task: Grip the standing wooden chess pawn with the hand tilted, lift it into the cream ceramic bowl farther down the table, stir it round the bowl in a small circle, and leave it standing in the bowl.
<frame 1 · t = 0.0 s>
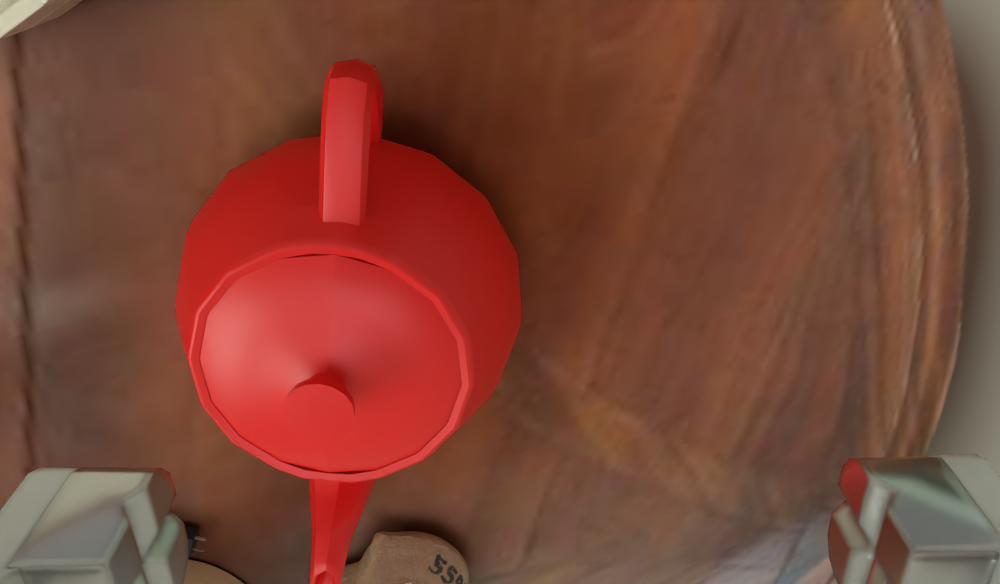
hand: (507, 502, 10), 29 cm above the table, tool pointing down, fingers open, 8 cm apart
teapot: (364, 279, 42), on the table
oil lamp: (393, 556, 51), on the table
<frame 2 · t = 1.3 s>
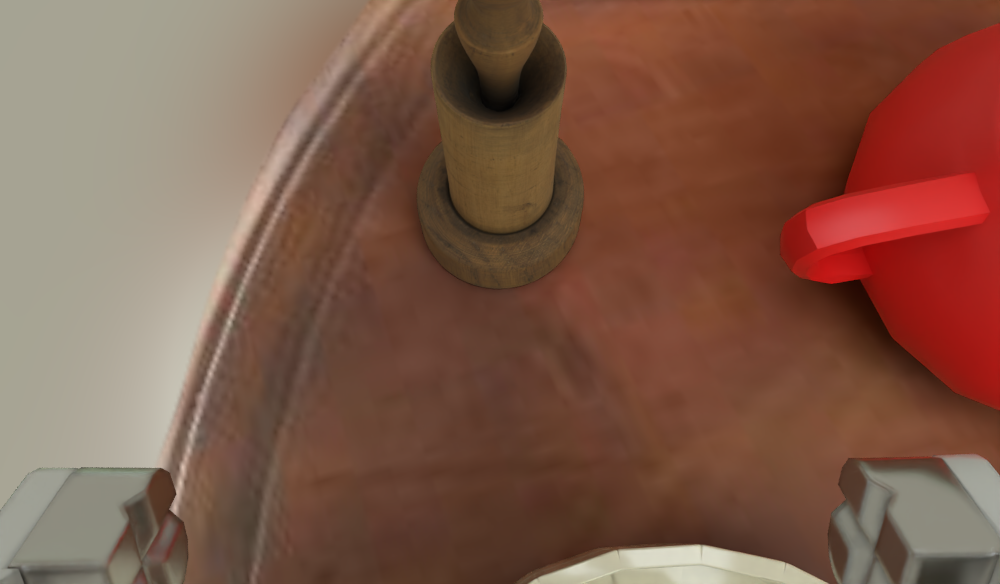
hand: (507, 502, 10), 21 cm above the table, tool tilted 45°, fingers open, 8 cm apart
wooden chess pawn: (500, 215, 34), on the table
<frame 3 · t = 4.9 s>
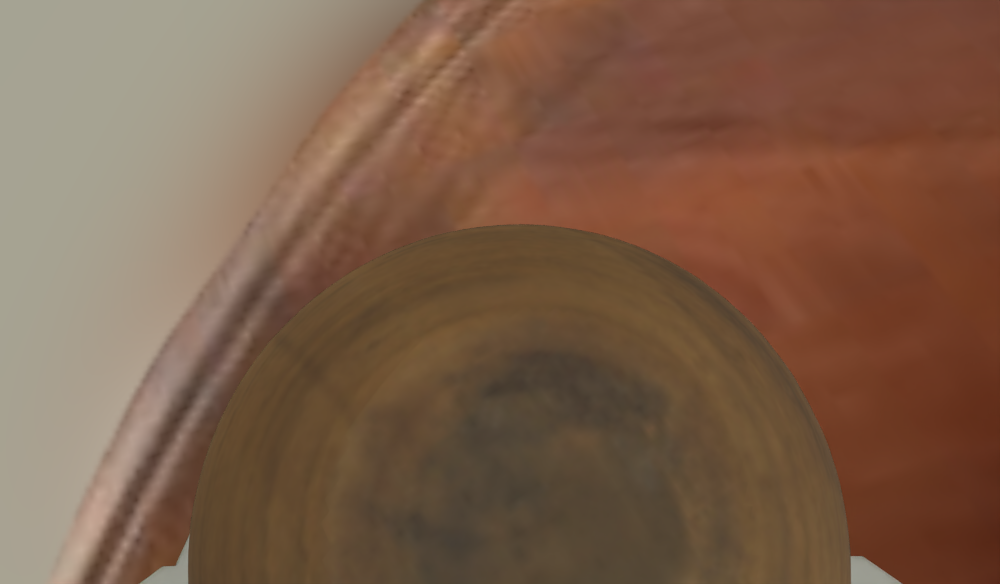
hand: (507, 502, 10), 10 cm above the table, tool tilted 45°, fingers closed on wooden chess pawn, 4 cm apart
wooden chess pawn: (510, 541, 20), on the table, touching gripper
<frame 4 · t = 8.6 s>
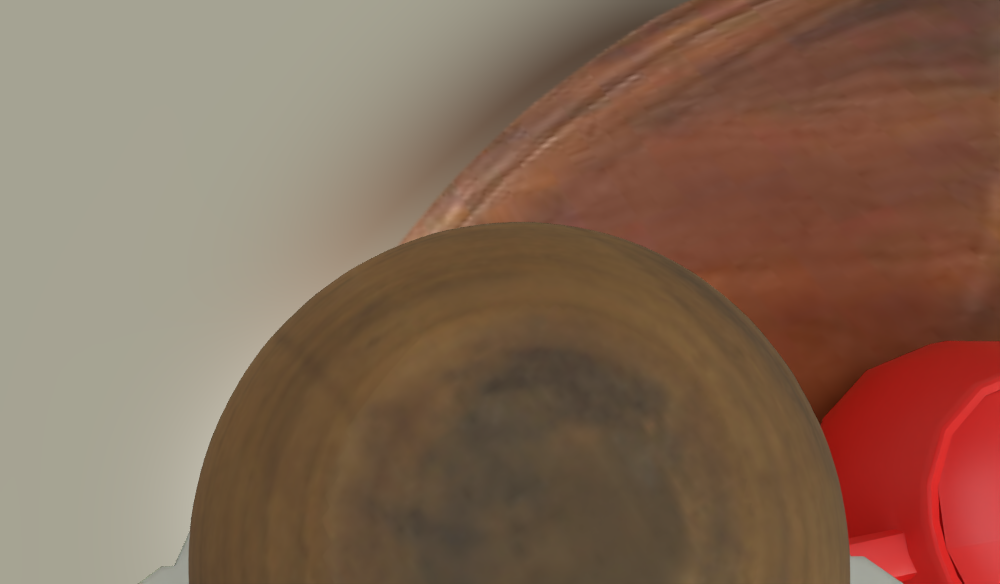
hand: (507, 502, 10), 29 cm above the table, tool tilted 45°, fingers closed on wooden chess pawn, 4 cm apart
teapot: (966, 522, 38), on the table
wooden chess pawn: (510, 540, 20), point 18 cm above the table, touching gripper
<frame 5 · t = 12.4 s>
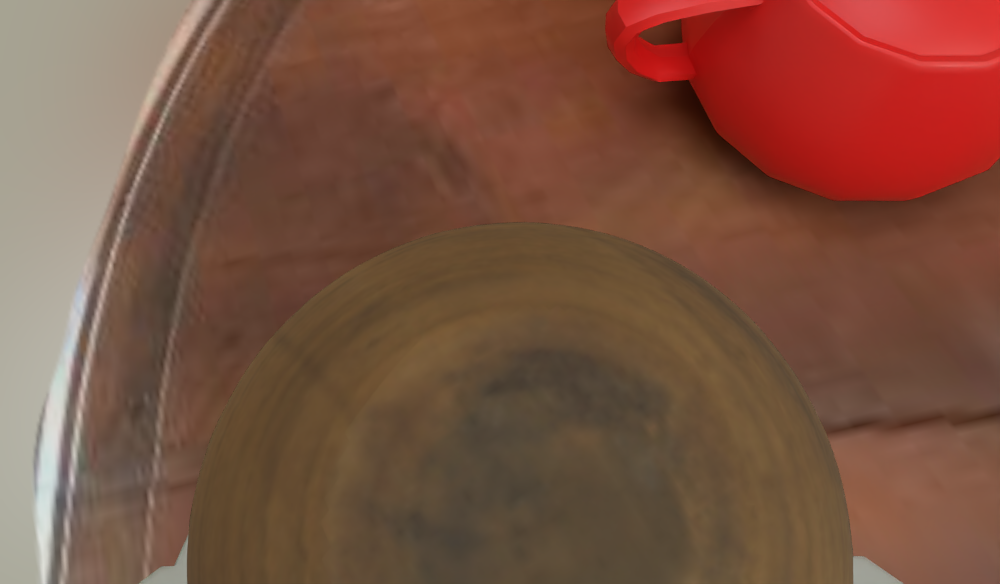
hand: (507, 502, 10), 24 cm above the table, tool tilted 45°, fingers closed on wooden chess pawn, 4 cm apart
teapot: (848, 72, 39), on the table
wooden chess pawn: (510, 541, 20), point 13 cm above the table, touching gripper
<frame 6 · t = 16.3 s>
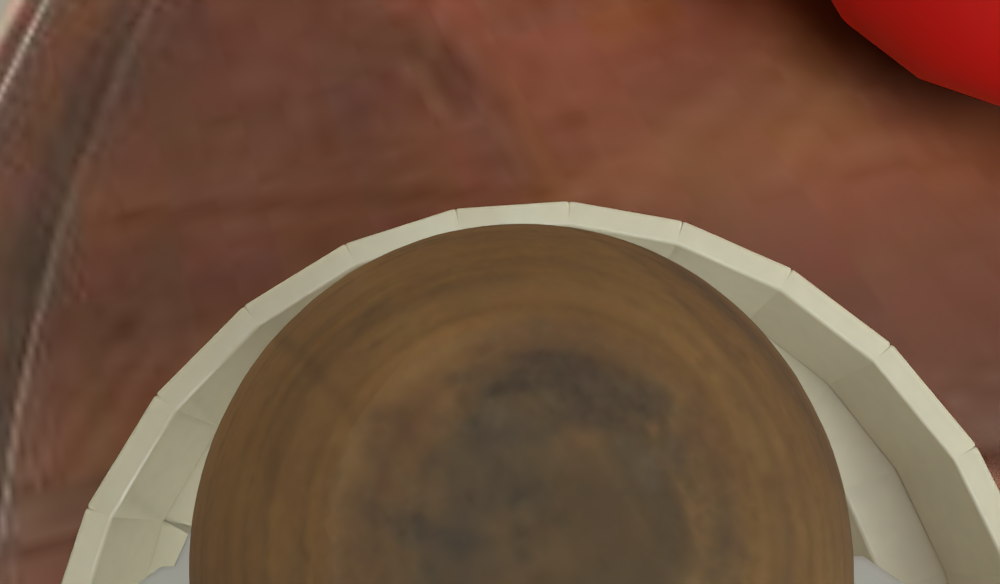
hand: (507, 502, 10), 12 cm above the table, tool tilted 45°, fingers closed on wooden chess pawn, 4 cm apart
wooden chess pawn: (510, 541, 20), point 2 cm above the table, touching gripper
when the fingers open (11 cm above the table, at t = 19.8 s): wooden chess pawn stays where it is, resting on bowl.
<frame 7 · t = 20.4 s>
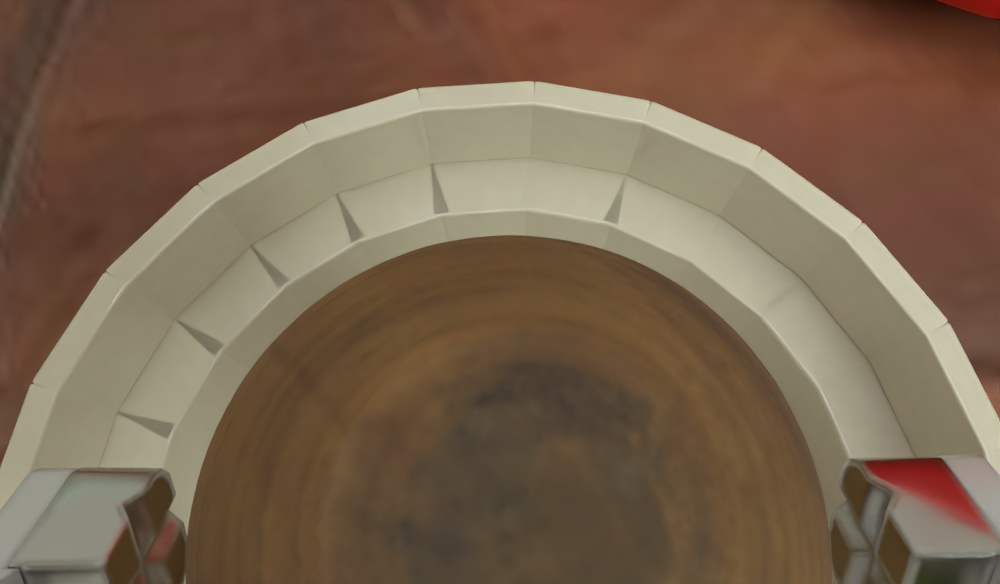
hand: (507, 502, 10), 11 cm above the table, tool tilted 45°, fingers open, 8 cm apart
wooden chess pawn: (506, 541, 20), point 1 cm above the table, touching bowl
bowl: (506, 548, 21), on the table
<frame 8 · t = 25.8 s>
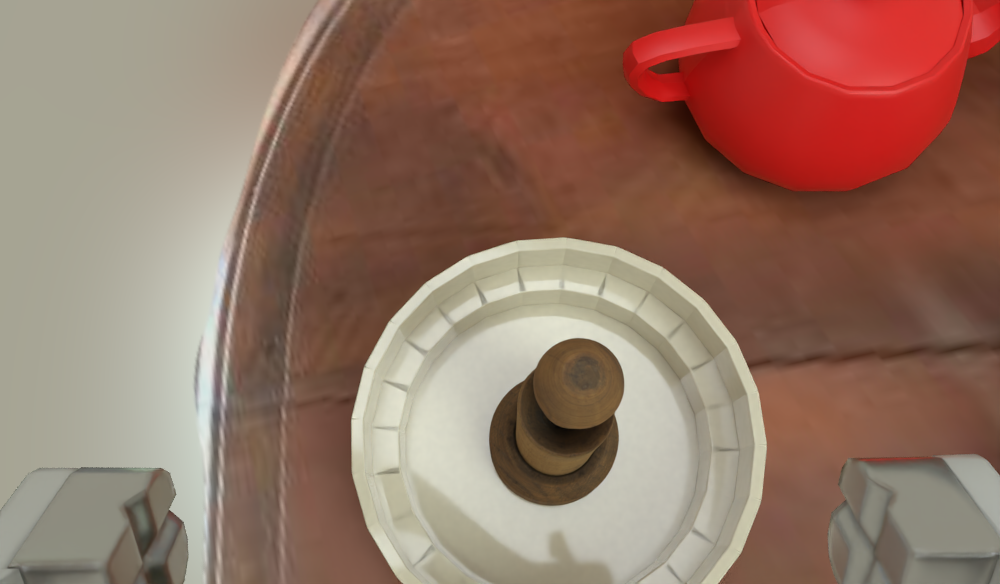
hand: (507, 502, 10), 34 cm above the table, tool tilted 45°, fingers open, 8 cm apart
teapot: (807, 92, 51), on the table
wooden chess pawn: (551, 441, 44), point 1 cm above the table, touching bowl
bowl: (550, 446, 44), on the table
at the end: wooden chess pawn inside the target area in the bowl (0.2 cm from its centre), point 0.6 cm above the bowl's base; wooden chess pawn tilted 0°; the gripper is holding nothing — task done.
